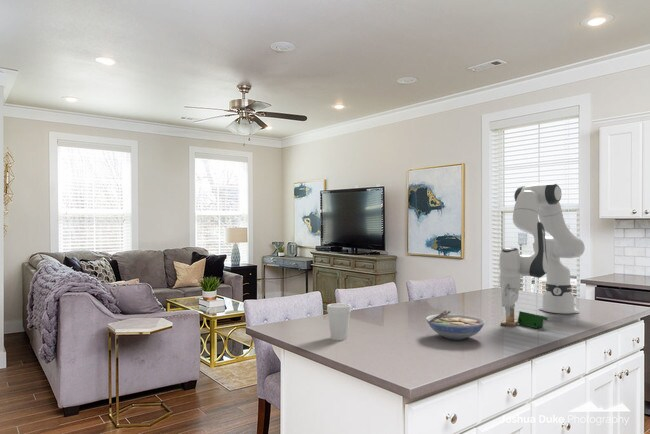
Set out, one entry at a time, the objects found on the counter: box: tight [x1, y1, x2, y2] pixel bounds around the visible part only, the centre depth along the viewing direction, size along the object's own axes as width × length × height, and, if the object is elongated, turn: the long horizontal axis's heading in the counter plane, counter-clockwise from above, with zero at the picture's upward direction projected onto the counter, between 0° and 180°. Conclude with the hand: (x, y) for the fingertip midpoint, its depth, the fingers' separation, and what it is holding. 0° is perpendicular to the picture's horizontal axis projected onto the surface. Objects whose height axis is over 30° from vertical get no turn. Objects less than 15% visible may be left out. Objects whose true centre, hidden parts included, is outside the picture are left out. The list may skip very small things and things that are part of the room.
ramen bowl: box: [425, 310, 486, 341], centre depth 184 cm, size 25×23×8 cm
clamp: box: [517, 310, 548, 329], centre depth 206 cm, size 12×6×9 cm, turn 16°
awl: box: [505, 307, 515, 322], centre depth 210 cm, size 4×4×9 cm
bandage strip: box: [500, 317, 519, 328], centre depth 210 cm, size 13×6×1 cm, turn 149°
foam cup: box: [326, 302, 352, 341], centre depth 183 cm, size 10×9×13 cm
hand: (510, 314), depth 210 cm, fingers open, 8 cm apart
